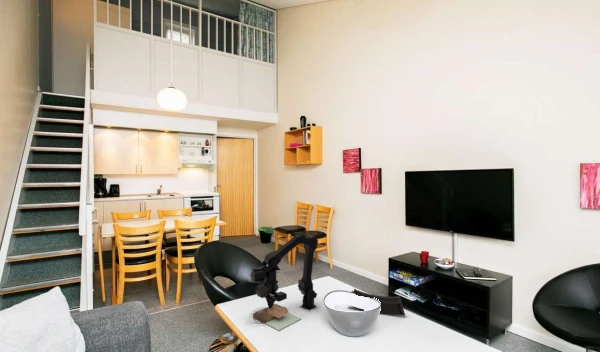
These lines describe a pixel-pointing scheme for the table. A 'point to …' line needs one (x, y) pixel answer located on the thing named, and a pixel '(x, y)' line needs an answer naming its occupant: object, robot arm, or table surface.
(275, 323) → the green mat
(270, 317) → the walnut stand
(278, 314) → the terracotta tile
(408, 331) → the table surface
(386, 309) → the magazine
